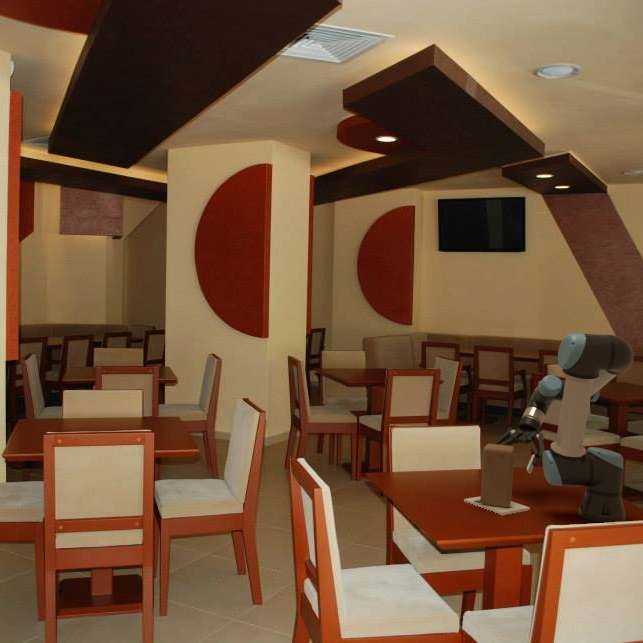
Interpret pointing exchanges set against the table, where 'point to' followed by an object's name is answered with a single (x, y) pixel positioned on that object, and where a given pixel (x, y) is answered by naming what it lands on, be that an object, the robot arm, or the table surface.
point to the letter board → (498, 509)
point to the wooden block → (497, 475)
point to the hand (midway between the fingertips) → (510, 467)
